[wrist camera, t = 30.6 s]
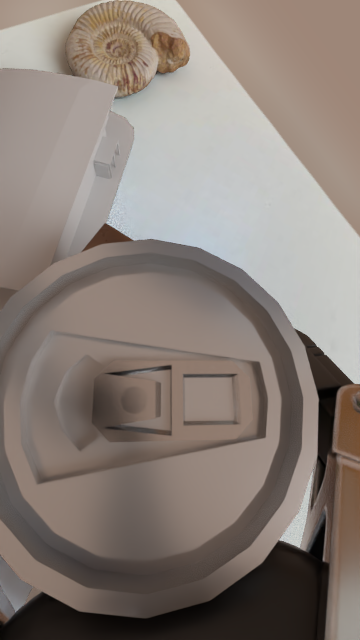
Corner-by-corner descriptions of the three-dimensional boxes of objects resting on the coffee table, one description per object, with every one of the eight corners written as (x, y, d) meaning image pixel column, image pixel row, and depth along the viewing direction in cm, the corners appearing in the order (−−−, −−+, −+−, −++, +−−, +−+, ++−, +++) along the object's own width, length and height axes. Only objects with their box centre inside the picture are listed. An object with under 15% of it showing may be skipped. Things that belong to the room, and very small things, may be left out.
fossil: (142, -16, 32) (197, 7, 28) (150, 45, 37) (198, 72, 32) (39, 18, 29) (83, 48, 25) (60, 78, 34) (101, 113, 29)
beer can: (197, 347, 17) (310, 233, 5) (200, 450, 15) (364, 623, 4) (99, 346, 16) (-28, 217, 4) (93, 453, 15) (-112, 668, 3)
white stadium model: (140, 119, 31) (139, 81, 27) (70, 328, 25) (56, 316, 21) (-6, 79, 30) (-29, 34, 26) (-115, 284, 24) (-165, 263, 20)
